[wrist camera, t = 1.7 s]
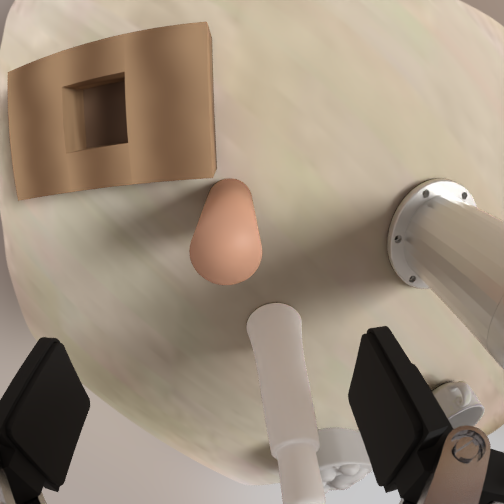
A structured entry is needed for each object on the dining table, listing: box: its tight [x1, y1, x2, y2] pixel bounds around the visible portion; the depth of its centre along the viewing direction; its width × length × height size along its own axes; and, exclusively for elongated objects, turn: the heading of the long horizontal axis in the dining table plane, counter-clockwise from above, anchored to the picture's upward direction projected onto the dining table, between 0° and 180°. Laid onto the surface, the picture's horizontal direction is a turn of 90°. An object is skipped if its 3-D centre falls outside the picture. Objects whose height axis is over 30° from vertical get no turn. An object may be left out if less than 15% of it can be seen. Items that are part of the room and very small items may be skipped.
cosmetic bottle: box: [247, 303, 326, 504], centre depth 24 cm, size 6×6×22 cm
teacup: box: [432, 381, 484, 429], centre depth 39 cm, size 14×11×8 cm
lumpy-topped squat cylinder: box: [316, 427, 373, 494], centre depth 41 cm, size 10×13×9 cm
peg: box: [190, 179, 262, 285], centre depth 23 cm, size 4×4×12 cm
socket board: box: [8, 22, 217, 201], centre depth 22 cm, size 18×12×5 cm, turn 92°
